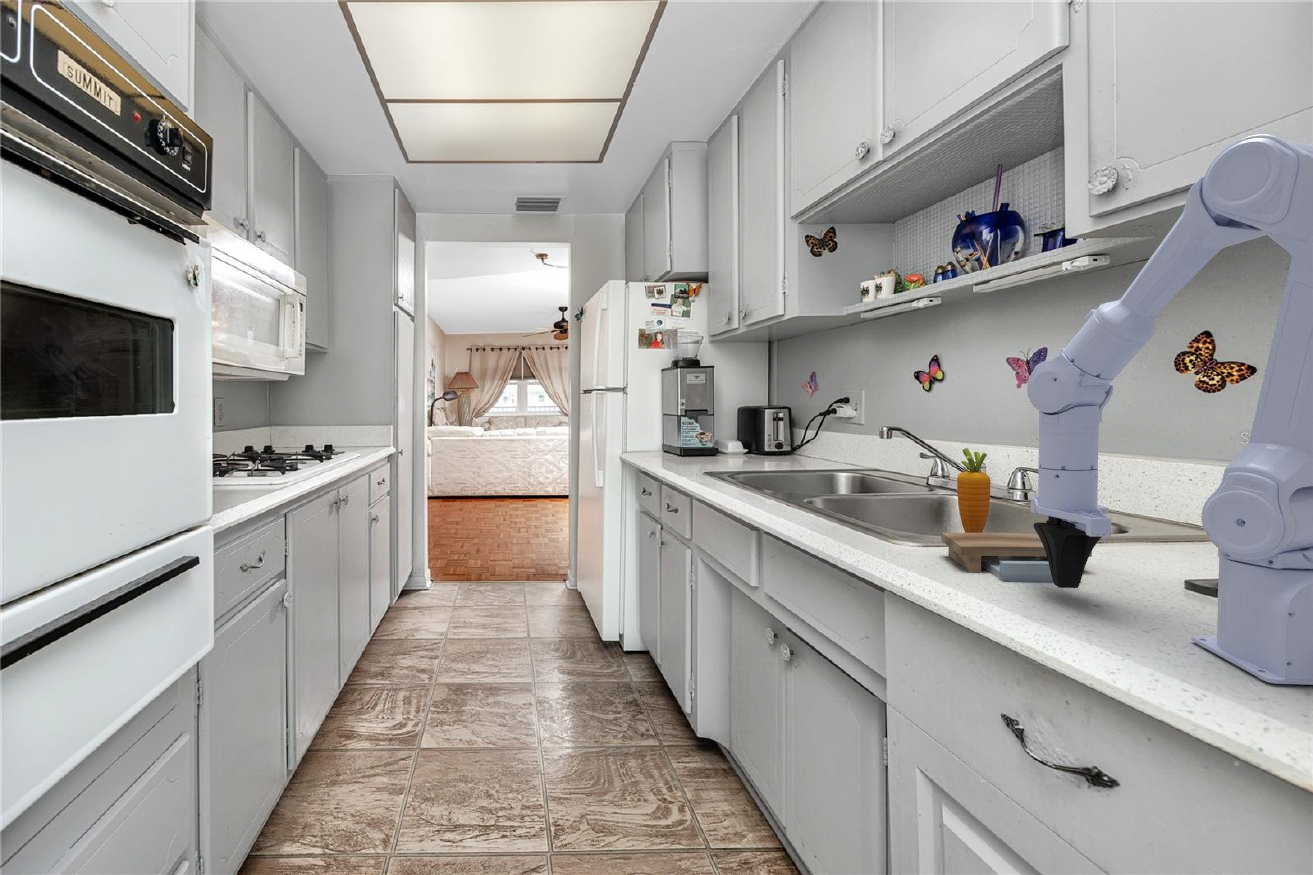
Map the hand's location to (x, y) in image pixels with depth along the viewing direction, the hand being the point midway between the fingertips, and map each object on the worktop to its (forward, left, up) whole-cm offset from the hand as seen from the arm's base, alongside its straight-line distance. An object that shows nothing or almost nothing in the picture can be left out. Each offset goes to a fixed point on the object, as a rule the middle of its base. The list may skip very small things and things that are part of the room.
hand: (1066, 586), depth 75 cm
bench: (+16, 0, -1) cm, 16 cm away
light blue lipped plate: (+12, 0, -2) cm, 12 cm away
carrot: (+28, +1, -2) cm, 28 cm away
